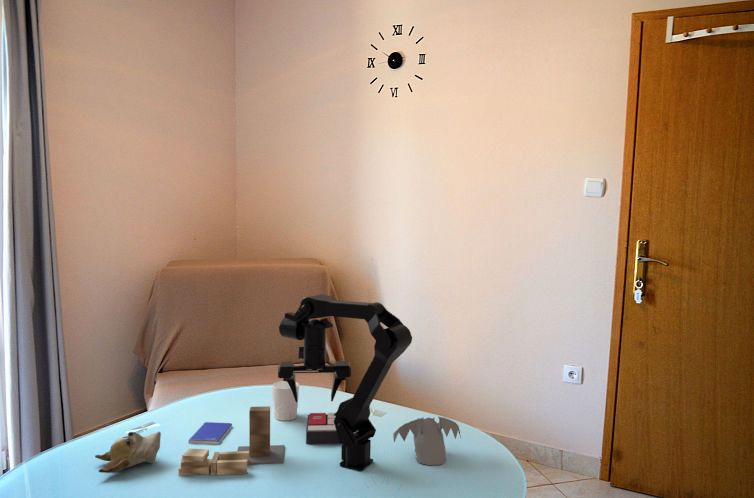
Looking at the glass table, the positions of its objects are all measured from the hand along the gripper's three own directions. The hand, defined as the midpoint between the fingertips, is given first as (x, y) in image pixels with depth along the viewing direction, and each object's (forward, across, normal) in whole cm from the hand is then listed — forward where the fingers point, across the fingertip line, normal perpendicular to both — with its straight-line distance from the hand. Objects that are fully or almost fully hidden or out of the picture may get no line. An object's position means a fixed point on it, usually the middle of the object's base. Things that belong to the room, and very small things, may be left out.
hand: (314, 401), depth 156 cm
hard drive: (+14, +28, -12) cm, 34 cm away
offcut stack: (+13, +29, +10) cm, 33 cm away
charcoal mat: (+13, +14, +3) cm, 19 cm away
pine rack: (+13, +20, +10) cm, 25 cm away
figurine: (+13, -30, +6) cm, 33 cm away
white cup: (+13, +8, -24) cm, 28 cm away
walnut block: (+13, +14, +3) cm, 19 cm away
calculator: (+14, -4, -11) cm, 18 cm away
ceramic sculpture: (+13, +45, +6) cm, 47 cm away
